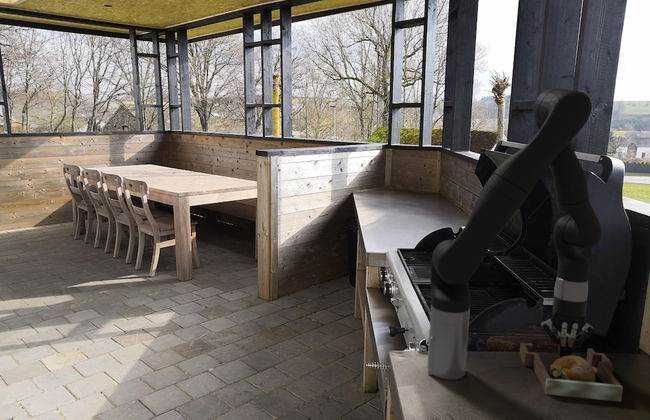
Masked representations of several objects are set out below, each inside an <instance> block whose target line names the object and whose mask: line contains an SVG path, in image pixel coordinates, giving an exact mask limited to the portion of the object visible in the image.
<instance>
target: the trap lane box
mask: <svg viewBox="0 0 650 420" xmlns="http://www.w3.org/2000/svg"><path fill="white" fill-rule="evenodd" d="M519 345H520V346H519V357H520V360H521V363H522V364H523V366H524V367H529V368H530V367H532V368H533V371H534V373H535V375H536V376H537V378H538V381H539V383H540V385H541V388H542V389H543V391H544V393H545V395H549V396H560V397H571V398H579V399H580V398H581V399H588V400H590V399H591V400H600V401H609V402H621V403H622V397H623V391H624V386H623V385H621V383H620V382H619V381H618V379H617V378H616V377H615V376H614V374H613V369H614V364H613V363H612V362H611V360H610V359H609V358H608V356H606V354H605V353H602V352H601V353H600V352H595V351H594V349H593V348H589V347H588V348H587V353H586V354H587V355H586V361H588V362H589V363H590V364H591V365H592V367H593V370H594V374H596V376H597V377H598V378H599V380H600V381H601V382H602V383H601V382H595V383H593V382H582V381H572V380H561V379H552V378H551V377H550V373H548V371H547V369H546V367H545V365H544V363H543V362H542V359H541V358H540V355H539V354H538V353H537V352H533V351H534V344H533V343H530V342H528V343H523V342H522V343H521V342H520V344H519Z"/></svg>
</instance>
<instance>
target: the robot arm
mask: <svg viewBox="0 0 650 420" xmlns="http://www.w3.org/2000/svg"><path fill="white" fill-rule="evenodd" d="M591 114H592V100H591V98H590V97H589V95H588V94H586V93H585V92H582V91H579V90H574V89H566V88H549V89H546V90H544V91H543V92H542V93H540V94H539V95H538V96H537V98H536V99H535V102H534V104H533V116H534V119H535V123H536V126H537V128H538V129H537V130H538V131H537V133H536V134H534V137H533V138H532V139H531V140H530V141H529V142H528V143H527V144H525V146H523V147H522V148H521V149H519V150H518V151H516V152H515V153H514V154H512V155H510V156H509V157H508V158H507V159H506V160H503V162H502V163H501V164H499V165H498V167H497V168H496V169H495V170H494V171H493V173H492V174H491V176H490V177H489V178H488V180H487V181H486V183H485V184H484V186H483V187H482V189H480V190H481V191H480V193H479V194H478V197H477V199H476V201H475V203H474V206H473V209H472V211H471V214H470V217H469V219H468V221H467V223H466V224H465V226H464V228H463V229H462V230H461V232H460V233H459V234H458V236H457V237H456V238H455V239H446V240H442V241H441V242H439V243H438V244H437V245H436V247H435V248H434V249H433V251H432V256H431V266H430V294H431V296H430V297H431V304H430V305H431V306H430V320H429V321H430V322H429V331H428V345H427V346H428V347H427V348H428V349H427V350H428V351H427V354H428V355H427V374H428V375H430V376H435V377H436V378H438V379H439V378H440V379H443V380H450V381H451V380H460V379H462V378H464V377H465V375H466V369H467V355H468V354H467V353H468V341H469V324H470V311H471V296H470V290H469V280H470V279H471V278H472V277H473V276H474V274H475V272H476V271H477V269H478V267H479V266H480V264H481V262H482V260H483V259H484V257H485V255H486V253H487V252H488V251H489V249H490V247H491V245H492V244H493V242H494V241H495V239H497V237H498V236H499V234H501V232H502V231H503V229H504V228H505V226H507V224H508V223H509V222H510V220H511V219H512V217H513V216H514V215H515V214H516V212H517V211H518V210H519V208H521V206H522V204H523V203H524V201H526V199H527V198H528V197H529V195H530V193H531V192H532V190H533V189H534V188H535V186H536V184H537V183H539V181H540V179H541V178H542V176H543V175H544V174H545V173H546V171H547V170H548V169H549V167H550V170H551V176H552V180H553V188H554V193H555V198H556V199H555V200H556V205H557V209H558V210H559V212H561V213H563V214H565V215H564V216H562V217H560V218H558V219H557V221H556V223H555V224H554V228H553V240H554V245H555V250H556V255H557V261H558V262H557V272H556V273H557V274H556V275H557V276H556V279H555V283H554V288H553V293H554V294H553V303H552V312H551V314H550V316H549V319H547V320H546V321H545V320H542V321H540V325H541V326H542V329H543V330H544V331H545V332H546V334H547V336H548V337H549V338H550V339H551V341H552V342H553V343H554V344H556V345H558V347H557V354H558V357H559V358H561V357H564V356H572V349H573V348H574V346H577V347H579V346H581V345H582V344H583V343H585V342H586V340H588V339H589V338H590V337H591V336H592V335H593V334H594V333H595V332H596V330H595V329H594V327H593V326H592V325H591V324H589V323H587V319H586V312H587V305H588V304H587V303H588V297H589V296H588V295H589V275H590V267H591V266H590V265H591V264H590V260H589V258H588V257H586V256H585V255H583V254H581V253H579V252H578V250H577V248H576V247H578V248H581V249H589V250H590V249H594V248H595V247H597V245H599V243H600V241H601V239H602V233H603V232H602V230H603V229H602V227H601V223H600V221H599V219H598V216H597V214H596V212H595V210H594V208H593V206H592V204H591V202H590V195H589V188H588V187H589V186H588V182H587V181H588V180H587V177H586V173H585V170H584V168H583V166H582V163H581V162H580V160H579V158H578V156H577V154H576V152H575V150H574V148H573V145H572V142H571V141H572V140H573V139H574V138H575V137H576V136H577V135H578V134H579V132H580V131H581V130H582V129H583V127H584V126H585V125H586V124H587V122H588V120H589V118H590V115H591ZM553 326H554V328H555V329H556V331H557V334H558V336H556V335H555V334H554V332H553V331H552V329H553Z"/></svg>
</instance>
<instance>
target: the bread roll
mask: <svg viewBox="0 0 650 420" xmlns="http://www.w3.org/2000/svg"><path fill="white" fill-rule="evenodd" d="M595 374H596V373H595V371H594V370H593V367H592V365H591V364H590V363H589V362H588V361H587V359H584V358H583V357H581V356H580V355H571V356H564V357H561V358H560V357H559V358H557V359H556V360H554V361H553V362H552V364H551V365H549V376H550V378H551V379H561V380H572V381H582V382H593V383H596V379H595V377H596V375H595Z"/></svg>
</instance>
